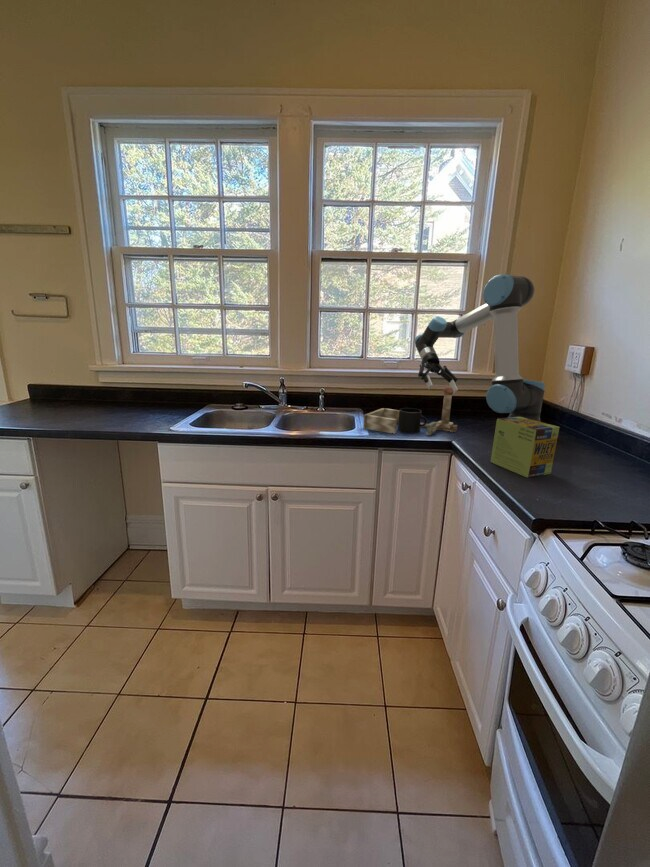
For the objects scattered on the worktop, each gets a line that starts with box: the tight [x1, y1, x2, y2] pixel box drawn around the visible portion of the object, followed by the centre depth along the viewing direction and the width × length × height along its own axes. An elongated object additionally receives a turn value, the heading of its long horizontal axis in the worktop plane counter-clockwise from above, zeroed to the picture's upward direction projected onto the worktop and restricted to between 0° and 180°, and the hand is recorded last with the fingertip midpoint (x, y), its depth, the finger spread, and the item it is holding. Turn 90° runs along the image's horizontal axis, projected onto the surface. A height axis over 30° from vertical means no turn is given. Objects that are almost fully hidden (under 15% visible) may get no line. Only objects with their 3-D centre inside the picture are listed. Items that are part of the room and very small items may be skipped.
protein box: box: [490, 416, 561, 478], centre depth 127 cm, size 10×15×16 cm
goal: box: [362, 407, 399, 435], centre depth 176 cm, size 15×19×6 cm
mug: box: [397, 407, 428, 434], centre depth 170 cm, size 9×12×9 cm
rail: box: [420, 422, 459, 433], centre depth 178 cm, size 26×4×2 cm, turn 57°
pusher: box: [425, 385, 454, 436], centre depth 167 cm, size 6×16×19 cm, turn 147°
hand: (443, 389), depth 178 cm, fingers open, 13 cm apart
